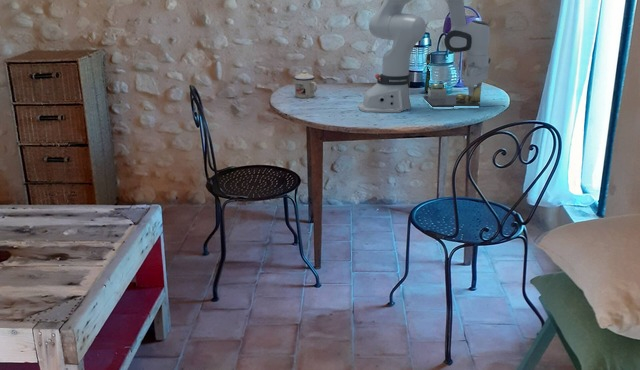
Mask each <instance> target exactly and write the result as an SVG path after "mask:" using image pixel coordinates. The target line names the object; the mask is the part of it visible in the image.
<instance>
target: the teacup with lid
mask: <svg viewBox="0 0 640 370" xmlns="http://www.w3.org/2000/svg"><path fill="white" fill-rule="evenodd" d="M301 71H302V72H300V73H299V74H297V75H295V76H294V93H295V97H296V98H298V99H311V98H313V97H315V93H316V92H317V90H318V89H317V88H318V85H317V83H316V82H315V76H314V75H312V74H310V73H308V71H307V70H301Z"/></svg>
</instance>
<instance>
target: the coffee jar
mask: <svg viewBox="0 0 640 370" xmlns="http://www.w3.org/2000/svg"><path fill="white" fill-rule="evenodd" d="M431 53H432V52H429V53H428V54H427V55H426V62H425V63H426V73H425V82H424V92H425V91H428V87H429V80H430V71H429V69H428V67H427V65H428V64H429V63H430V55H431Z"/></svg>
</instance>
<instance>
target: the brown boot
mask: <svg viewBox="0 0 640 370" xmlns="http://www.w3.org/2000/svg"><path fill="white" fill-rule="evenodd" d="M473 90H474V95H473V96H469V94H466V93H457V94H455V95H456V100H460V101H464V100H465V101H468V102H471V103H479V104H480V103H481V97H482V96H481V94H482V86H481V87H479V86H476V85H475V86H474V88H473ZM467 95H468V97H467Z"/></svg>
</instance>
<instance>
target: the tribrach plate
mask: <svg viewBox="0 0 640 370" xmlns="http://www.w3.org/2000/svg"><path fill="white" fill-rule="evenodd" d="M447 90H448V89H447V88H446V87H445V88H444V85H443V84H431V87H428V93H427V95H423V98H424V99H425V100H426V101H427V102H428V103H429V104H430V105H431V106H432V107H454V106H480V107H481V104H480V102H479V103H471V102H468V101H465V100H464V101H460V100H456V95H457V94H450V95H449V94H447ZM466 95H467V97H468V95H469V94H466Z"/></svg>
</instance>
